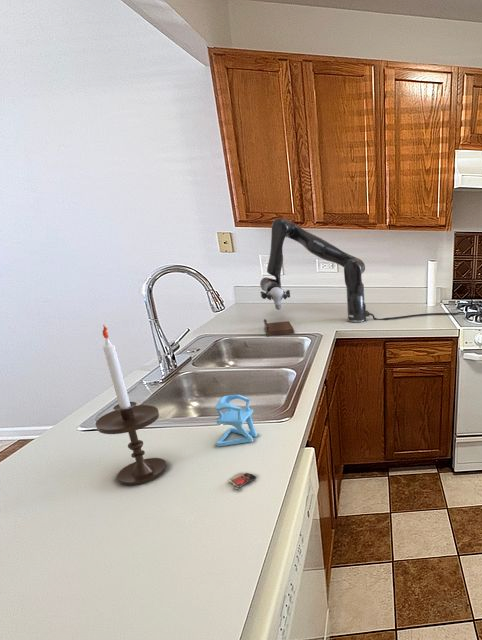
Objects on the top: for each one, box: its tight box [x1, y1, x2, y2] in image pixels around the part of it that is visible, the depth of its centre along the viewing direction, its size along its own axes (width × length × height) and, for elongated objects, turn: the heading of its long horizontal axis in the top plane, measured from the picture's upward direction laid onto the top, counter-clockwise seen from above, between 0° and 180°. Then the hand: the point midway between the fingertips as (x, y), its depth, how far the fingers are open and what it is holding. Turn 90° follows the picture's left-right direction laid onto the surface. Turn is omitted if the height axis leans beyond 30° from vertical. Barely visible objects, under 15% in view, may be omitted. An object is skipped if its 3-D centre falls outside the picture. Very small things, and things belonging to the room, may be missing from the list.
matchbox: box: [229, 472, 257, 490], centre depth 88 cm, size 5×5×1 cm
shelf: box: [263, 318, 295, 337], centre depth 195 cm, size 12×15×4 cm
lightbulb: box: [270, 287, 284, 311], centre depth 191 cm, size 6×6×11 cm
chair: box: [214, 394, 258, 447], centre depth 102 cm, size 8×8×12 cm
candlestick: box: [95, 324, 168, 487], centre depth 84 cm, size 11×11×35 cm
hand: (277, 297), depth 188 cm, fingers closed on lightbulb, 6 cm apart
